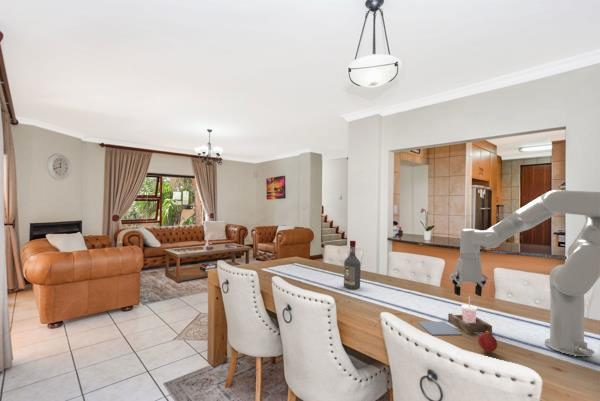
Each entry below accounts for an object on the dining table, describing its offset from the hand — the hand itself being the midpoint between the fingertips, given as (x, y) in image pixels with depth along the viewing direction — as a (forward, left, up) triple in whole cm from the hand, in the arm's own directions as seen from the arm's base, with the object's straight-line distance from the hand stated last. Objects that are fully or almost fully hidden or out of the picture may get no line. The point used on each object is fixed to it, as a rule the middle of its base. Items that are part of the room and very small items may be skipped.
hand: (467, 295), depth 129 cm
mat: (-1, +14, -14) cm, 20 cm away
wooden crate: (0, -1, -14) cm, 14 cm away
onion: (-22, +7, -14) cm, 28 cm away
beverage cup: (0, -1, -14) cm, 14 cm away
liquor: (+62, +36, -14) cm, 73 cm away
